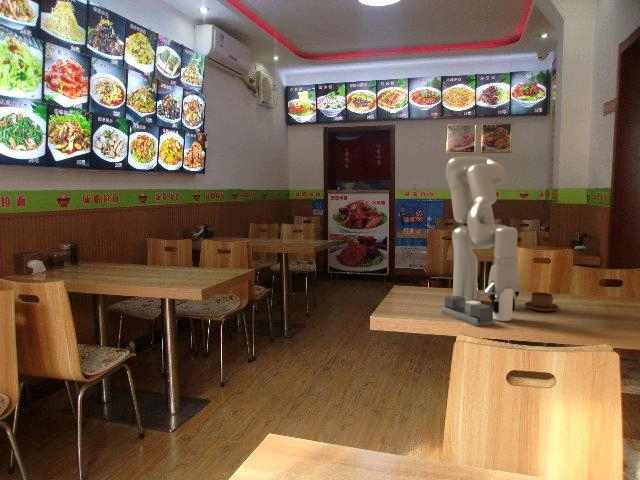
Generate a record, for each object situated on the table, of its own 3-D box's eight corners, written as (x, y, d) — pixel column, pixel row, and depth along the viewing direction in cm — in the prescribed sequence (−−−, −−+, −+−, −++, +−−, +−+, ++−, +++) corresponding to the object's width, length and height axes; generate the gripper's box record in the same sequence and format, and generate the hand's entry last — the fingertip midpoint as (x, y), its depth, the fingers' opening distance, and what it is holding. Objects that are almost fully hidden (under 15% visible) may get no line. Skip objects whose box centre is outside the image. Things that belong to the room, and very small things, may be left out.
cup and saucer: (532, 304, 204) (532, 289, 203) (562, 309, 195) (563, 294, 194) (519, 309, 195) (519, 294, 195) (550, 315, 187) (551, 299, 186)
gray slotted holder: (458, 311, 192) (459, 295, 191) (494, 324, 173) (495, 306, 173) (441, 313, 189) (441, 297, 188) (476, 326, 170) (476, 308, 170)
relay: (472, 310, 194) (472, 300, 193) (480, 312, 191) (481, 302, 190) (463, 312, 191) (464, 302, 190) (472, 314, 188) (472, 304, 187)
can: (509, 322, 176) (511, 289, 174) (490, 319, 179) (492, 287, 178) (513, 318, 181) (515, 285, 180) (495, 315, 184) (496, 283, 183)
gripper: (516, 258, 184) (513, 306, 186) (478, 261, 178) (476, 310, 180) (531, 261, 177) (529, 311, 179) (492, 264, 171) (490, 315, 173)
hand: (502, 310), depth 180 cm, fingers closed on can, 6 cm apart
